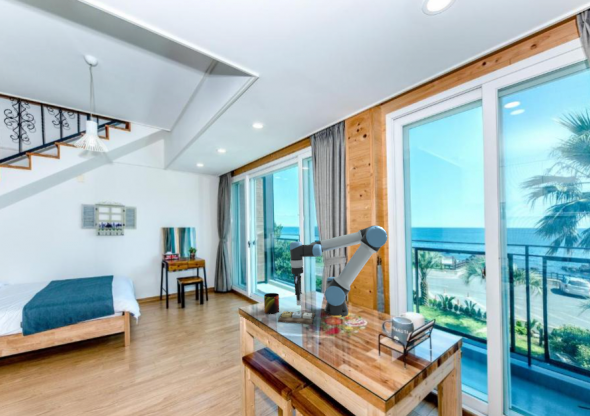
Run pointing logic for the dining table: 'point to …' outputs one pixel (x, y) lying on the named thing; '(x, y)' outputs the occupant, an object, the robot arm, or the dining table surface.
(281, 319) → the board
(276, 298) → the mug
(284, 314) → the tile
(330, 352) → the dining table surface
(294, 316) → the two-dot tile
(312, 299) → the dining table surface
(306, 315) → the tile
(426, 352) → the dining table surface
